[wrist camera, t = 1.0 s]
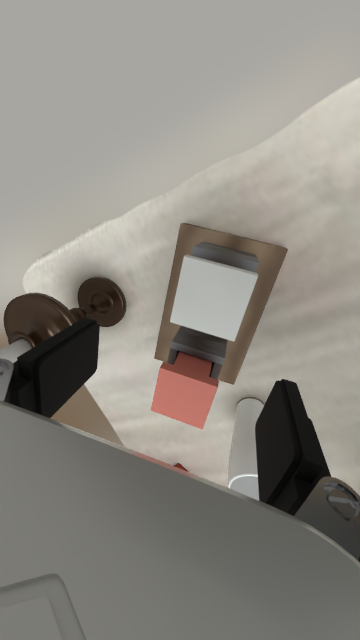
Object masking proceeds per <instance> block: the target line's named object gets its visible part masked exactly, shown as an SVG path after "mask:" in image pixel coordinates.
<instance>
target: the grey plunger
mask: <svg viewBox="0 0 360 640" xmlns="http://www.w3.org/2000/svg"><path fill="white" fill-rule="evenodd" d="M257 278H258V273H255V272H251V271H247V270H244V269H240V268H236V267H233V266H229V265H225V264H221V263H217V262H214V261H210V260H206V259H202V258H198V257H194V256H190V255H185V256H184V258H183V263H182V268H181V272H180V277H179V282H178V286H177V291H176V296H175V300H174V305H173V310H172V314H171V319H170V322H172V323H175V324H178V325H181V326H185V327H188V328H191V329H194V330H198V331H201V332H204V333H207V334H211V335H214V336H217V337H220V338H224V339H227V340H230V341H233V342H234V341H235V338H236V336H237V333H238V330H239V327H240V325H241V322H242V319H243V316H244V314H245V311H246V308H247V305H248V303H249V300H250V297H251V294H252V292H253V289H254V286H255V283H256V281H257Z"/></svg>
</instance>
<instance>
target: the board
mask: <svg viewBox="0 0 360 640" xmlns="http://www.w3.org/2000/svg"><path fill="white" fill-rule="evenodd" d="M287 250H288V249H286V248H284V247H281V246H277V245H273V244H268V243H264V242H260V241H256V240H252V239H248V238H244V237H240V236H236V235H232V234H227V233H223V232H219V231H215V230H211V229H207V228H203V227H199V226H195V225H190V224H186V223H181V225H180V230H179V235H178V240H177V245H176V250H175V256H174V261H173V266H172V271H171V276H170V281H169V286H168V291H167V296H166V301H165V306H164V311H163V316H162V321H161V327H160V332H159V337H158V342H157V347H156V352H155V357H154V358H155V359H158V360H161V361H164V362H167V363H169V364H172V365H174V363H175V361H176V359H177V357H178V354H179V352H180V351H181V352H184V353H187V354H190V355H193V356H196V357H200V358H203V359H206V360H209V361H212V366H211V371H210V375H209V377H211V378H214V379H217V380H221V381H224V382H227V383H230V384H233V385H234V383H235V380H236V378H237V375H238V373H239V370H240V368H241V365H242V363H243V360H244V358H245V355H246V353H247V350H248V348H249V345H250V343H251V340H252V338H253V335H254V333H255V330H256V328H257V325H258V323H259V320H260V318H261V315H262V313H263V310H264V308H265V305H266V303H267V300H268V298H269V295H270V293H271V290H272V288H273V285H274V283H275V280H276V278H277V275H278V273H279V270H280V268H281V265H282V263H283V260H284V258H285V255H286V253H287ZM185 255H190V256H194V257H198V258H202V259H206V260H210V261H214V262H217V263H221V264H225V265H229V266H233V267H236V268H240V269H244V270H247V271H251V272H255V273H258V278H257V281H256V283H255V286H254V289H253V292H252V294H251V297H250V300H249V303H248V305H247V308H246V311H245V314H244V316H243V319H242V322H241V325H240V327H239V330H238V333H237V336H236V338H235V341H234V342H233V341H230V340H227V339H224V338H220V337H217V336H214V335H211V334H207V333H204V332H201V331H198V330H194V329H191V328H188V327H185V326H181V325H178V324H175V323H172V322H170V319H171V314H172V310H173V305H174V300H175V296H176V291H177V286H178V282H179V277H180V272H181V268H182V263H183V258H184V256H185Z"/></svg>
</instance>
